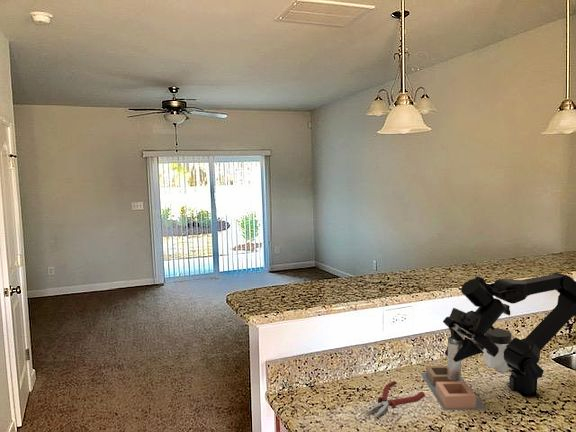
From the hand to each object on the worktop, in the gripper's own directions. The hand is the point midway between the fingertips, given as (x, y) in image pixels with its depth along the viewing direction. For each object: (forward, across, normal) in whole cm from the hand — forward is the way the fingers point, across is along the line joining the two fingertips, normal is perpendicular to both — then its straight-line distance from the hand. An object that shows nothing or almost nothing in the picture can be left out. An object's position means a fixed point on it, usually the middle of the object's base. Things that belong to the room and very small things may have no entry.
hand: (450, 358), depth 124 cm
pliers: (+21, -6, -1) cm, 22 cm away
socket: (+8, +1, +10) cm, 13 cm away
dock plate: (+7, -5, +12) cm, 15 cm away
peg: (+3, 0, +5) cm, 6 cm away
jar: (-10, -16, +30) cm, 36 cm away
